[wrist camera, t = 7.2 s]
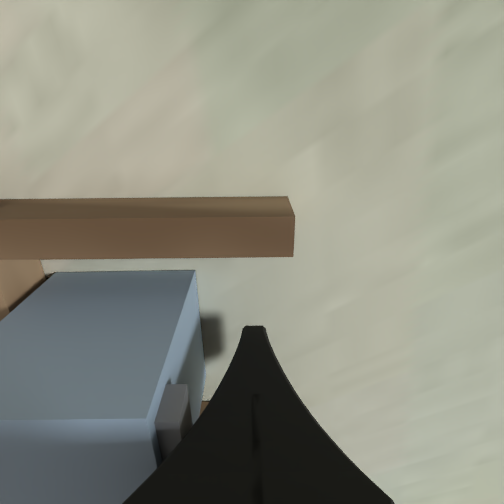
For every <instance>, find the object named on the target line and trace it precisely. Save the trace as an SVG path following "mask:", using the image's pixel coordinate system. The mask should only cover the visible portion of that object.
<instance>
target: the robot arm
mask: <svg viewBox="0 0 504 504" xmlns="http://www.w3.org/2000/svg"><path fill="white" fill-rule="evenodd" d="M122 504H394V502H393V500H392V499H391V498H390V497H389V496H388V495H386V494H385V493H384V492H383V491H382V490H381V489H380V488H379V487H378V486H377V485H376V484H374V483H373V482H372V481H371V480H370V479H369V478H368V477H367V476H366V475H365V474H364V473H363V472H362V471H361V470H360V469H359V468H358V467H357V466H356V465H355V464H354V463H353V462H352V461H351V460H350V459H349V458H348V457H347V456H346V455H345V454H344V453H343V451H342V450H341V449H340V448H339V447H338V446H337V445H336V443H335V442H334V441H333V440H332V439H331V438H330V437H329V435H328V434H327V433H326V432H325V431H324V430H323V429H322V427H321V426H320V425H319V424H318V422H317V421H316V420H315V418H314V417H313V416H312V415H311V413H310V412H309V410H308V409H307V408H306V406H305V405H304V404H303V402H302V401H301V399H300V398H299V396H298V395H297V393H296V392H295V390H294V388H293V387H292V385H291V384H290V382H289V380H288V379H287V377H286V375H285V373H284V372H283V370H282V368H281V366H280V364H279V362H278V360H277V358H276V356H275V354H274V352H273V349H272V347H271V345H270V342H269V339H268V336H267V333H266V328H264V327H263V326H245V327H244V328H243V330H242V335H241V338H240V342H239V344H238V347H237V350H236V352H235V355H234V357H233V359H232V361H231V363H230V366H229V368H228V370H227V372H226V374H225V375H224V377H223V379H222V381H221V383H220V385H219V387H218V388H217V390H216V392H215V393H214V395H213V397H212V398H211V400H210V401H209V403H208V405H207V406H206V408H205V409H204V411H203V412H202V414H201V415H200V416H199V418H198V419H197V420H196V422H195V423H194V425H193V426H192V427H191V429H190V430H189V431H188V433H187V434H186V435H185V436H184V438H183V439H182V440H181V441H180V443H179V444H178V445H177V446H176V447H175V448H174V449H173V451H172V452H171V453H170V454H169V455H168V456H167V458H166V459H165V460H164V461H163V462H162V463H161V464H160V466H159V467H158V468H157V469H156V470H155V471H154V472H153V473H152V474H151V475H150V476H149V477H148V478H147V479H146V480H145V481H144V482H143V483H142V484H141V485H140V486H139V487H138V488H137V489H136V490H135V491H134V492H133V493H132V494H131V495H130V496H129V497H128V498H127V499H126V500H125V501H124V502H123V503H122Z"/></svg>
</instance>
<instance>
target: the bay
mask: <svg viewBox="0 0 504 504" xmlns="http://www.w3.org/2000/svg"><path fill="white" fill-rule="evenodd" d="M294 230H295V215H294V212H293V210H292V207H291V204H290V202H289V199H288V196H284V197H188V198H91V199H0V321H1V320H2V319H4V318H5V317H6V316H7V315H8V314H9V313H10V312H12V311H13V310H14V309H15V308H16V307H17V306H18V305H19V304H21V303H22V302H23V301H24V300H25V299H26V298H27V297H28V296H30V295H31V294H32V293H33V292H34V291H35V290H36V289H37V288H39V287H40V286H41V285H42V284H43V283H44V282H45V281H46V277H45V274H44V271H43V268H42V264H41V261H40V259H136V258H232V257H293V251H294ZM208 403H209V401H202V402H201V408H200V414H199V416H200V415H201V414H202V412H203V411H204V409H205V408H206V406H207V405H208Z"/></svg>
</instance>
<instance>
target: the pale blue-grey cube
mask: <svg viewBox="0 0 504 504" xmlns="http://www.w3.org/2000/svg"><path fill="white" fill-rule="evenodd" d="M205 378H206V370H205V361H204V351H203V341H202V332H201V322H200V312H199V303H198V293H197V283H196V274H195V270H176V271H115V272H55V273H54V274H53V275H52V276H51V277H50V278H49V279H48V280H46V281H45V282H44V283H43V284H42V285H41V286H40V287H39V288H37V289H36V290H35V291H34V292H33V293H32V294H31V295H30V296H28V297H27V298H26V299H25V300H24V301H23V302H22V303H21V304H19V305H18V306H17V307H16V308H15V309H14V310H13V311H12V312H10V313H9V314H8V315H7V316H6V317H5V318H4V319H2V320H1V321H0V504H122V503H123V502H124V501H125V500H126V499H127V498H128V497H129V496H130V495H131V494H132V493H133V492H134V491H135V490H136V489H137V488H138V487H139V486H140V485H141V484H142V483H143V482H144V481H145V480H146V479H147V478H148V477H149V476H150V475H151V474H152V473H153V472H154V471H155V470H156V469H157V468H158V467H159V466H160V464H161V463H162V462H163V461H164V460H165V459H166V458H167V456H168V455H169V454H170V453H171V452H172V451H173V449H174V448H175V447H176V446H177V445H178V444H179V443H180V441H181V440H182V439H183V438H184V436H185V435H186V434H187V433H188V431H189V430H190V429H191V427H192V426H193V425H194V423H195V422H196V420H197V419H198V418H199V414H200V408H201V402H202V396H203V390H204V384H205Z"/></svg>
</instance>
